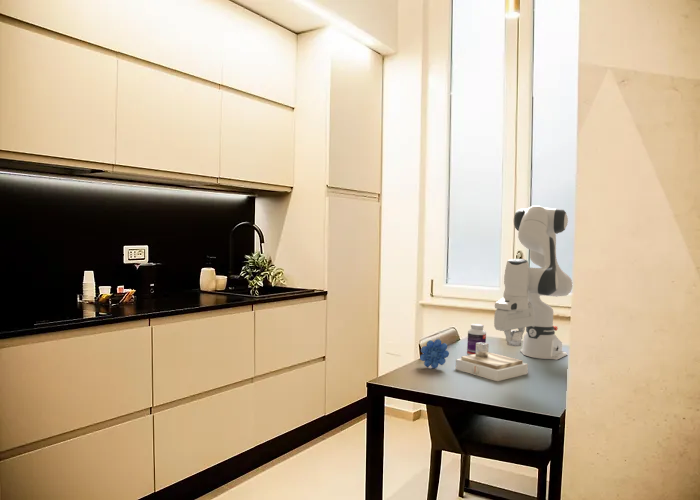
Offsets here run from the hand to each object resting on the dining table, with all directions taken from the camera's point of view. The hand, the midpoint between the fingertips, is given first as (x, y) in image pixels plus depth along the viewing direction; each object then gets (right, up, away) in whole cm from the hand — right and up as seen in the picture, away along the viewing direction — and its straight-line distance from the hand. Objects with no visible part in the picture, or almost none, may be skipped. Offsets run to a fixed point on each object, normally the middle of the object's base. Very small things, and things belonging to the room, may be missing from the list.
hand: (514, 340), depth 189 cm
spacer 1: (-7, -10, +21) cm, 24 cm away
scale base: (-4, -16, +17) cm, 23 cm away
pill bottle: (-4, -15, +43) cm, 45 cm away
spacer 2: (0, -2, 0) cm, 2 cm away
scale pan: (-4, -12, +17) cm, 21 cm away
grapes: (-26, -15, +20) cm, 36 cm away
